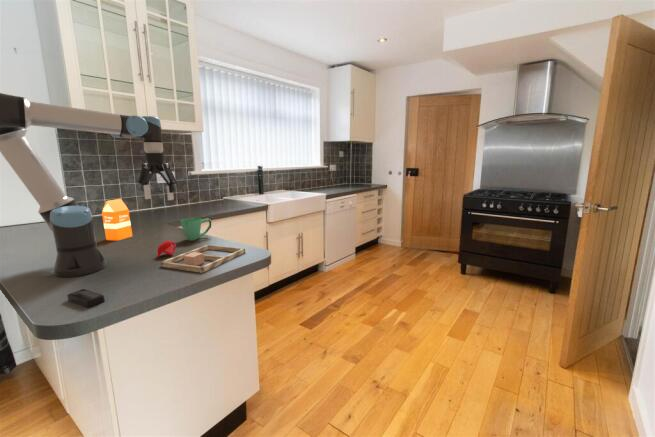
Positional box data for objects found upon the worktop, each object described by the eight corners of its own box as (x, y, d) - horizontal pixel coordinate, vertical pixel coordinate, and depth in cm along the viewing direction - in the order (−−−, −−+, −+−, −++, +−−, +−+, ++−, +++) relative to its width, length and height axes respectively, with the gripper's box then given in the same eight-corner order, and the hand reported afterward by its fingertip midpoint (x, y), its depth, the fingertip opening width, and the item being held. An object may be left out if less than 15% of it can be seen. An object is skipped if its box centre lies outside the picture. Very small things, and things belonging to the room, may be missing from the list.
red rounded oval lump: (173, 244, 139) (159, 239, 135) (178, 241, 135) (164, 236, 131) (167, 261, 136) (152, 256, 132) (172, 259, 132) (157, 254, 128)
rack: (202, 272, 112) (201, 268, 112) (161, 266, 120) (160, 262, 119) (245, 252, 135) (245, 248, 135) (208, 248, 143) (207, 244, 142)
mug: (184, 242, 152) (182, 222, 150) (180, 238, 160) (178, 219, 158) (215, 237, 161) (213, 218, 159) (210, 234, 169) (208, 215, 167)
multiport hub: (88, 309, 88) (87, 301, 87) (67, 301, 93) (66, 294, 92) (105, 302, 92) (104, 295, 91) (84, 295, 96) (83, 288, 96)
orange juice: (105, 239, 161) (99, 201, 158) (120, 235, 170) (115, 198, 166) (118, 240, 160) (112, 201, 156) (132, 236, 168) (127, 198, 164)
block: (194, 267, 119) (193, 257, 118) (184, 265, 121) (183, 255, 120) (204, 263, 123) (203, 253, 123) (194, 261, 125) (193, 252, 124)
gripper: (182, 152, 142) (186, 199, 146) (140, 153, 150) (145, 197, 154) (169, 151, 135) (174, 201, 139) (126, 152, 143) (131, 199, 147)
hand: (159, 199), depth 146 cm, fingers open, 13 cm apart
